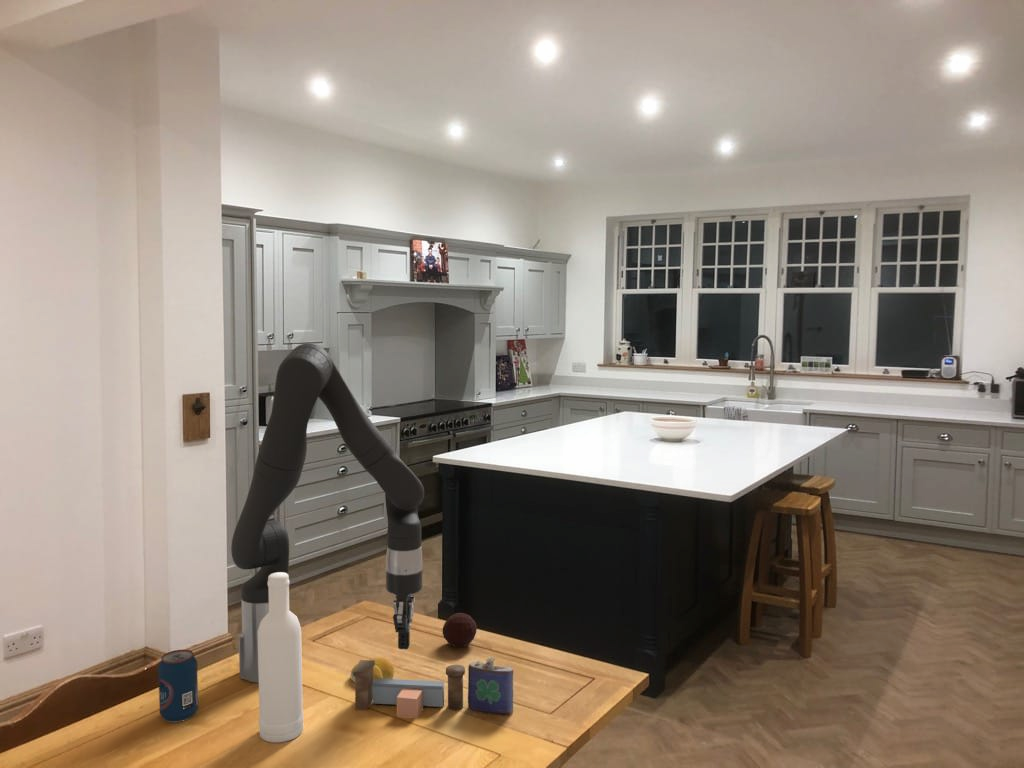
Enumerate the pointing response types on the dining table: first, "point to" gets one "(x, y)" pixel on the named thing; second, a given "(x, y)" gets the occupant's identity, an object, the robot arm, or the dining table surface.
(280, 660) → the bottle
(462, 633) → the dark maroon ball
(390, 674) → the bread roll
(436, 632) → the dining table surface
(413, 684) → the grey rectangular bar
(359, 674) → the stepped wooden slab
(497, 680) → the flask
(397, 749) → the dining table surface
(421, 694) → the block
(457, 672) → the dark brown cylindrical piece
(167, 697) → the soda can
